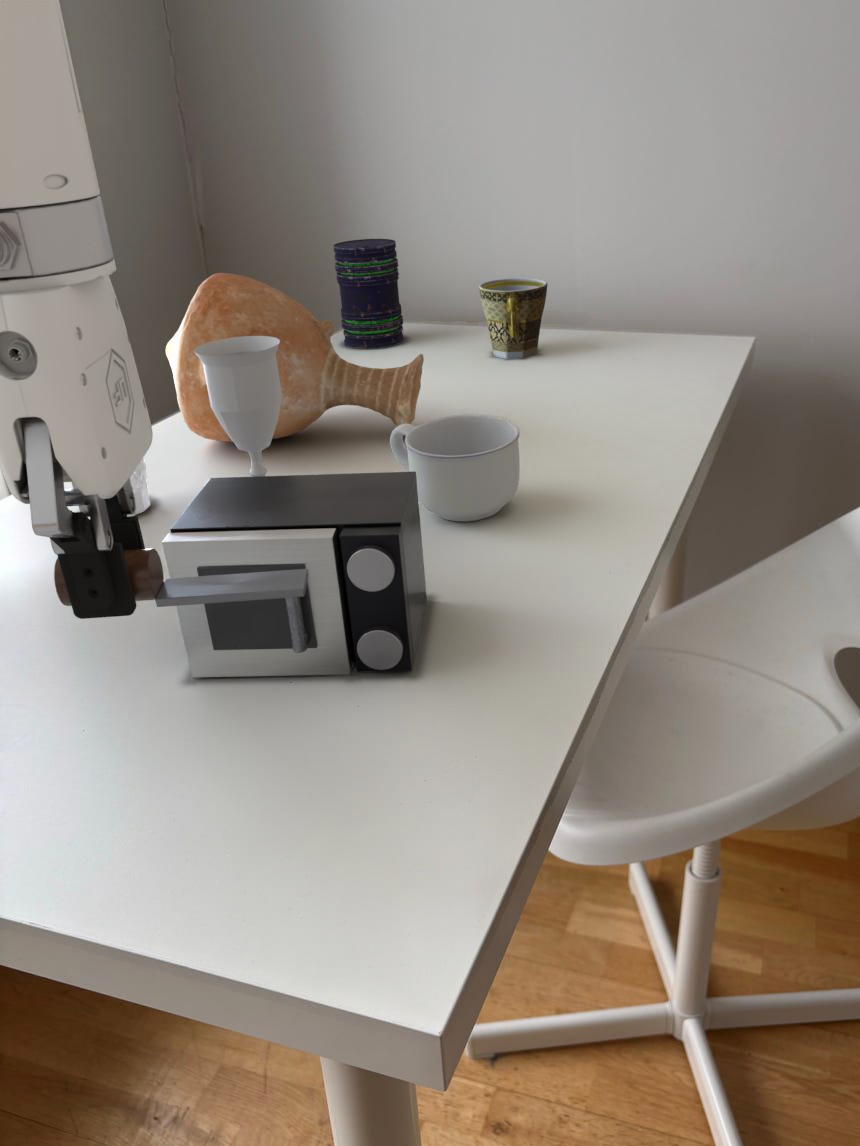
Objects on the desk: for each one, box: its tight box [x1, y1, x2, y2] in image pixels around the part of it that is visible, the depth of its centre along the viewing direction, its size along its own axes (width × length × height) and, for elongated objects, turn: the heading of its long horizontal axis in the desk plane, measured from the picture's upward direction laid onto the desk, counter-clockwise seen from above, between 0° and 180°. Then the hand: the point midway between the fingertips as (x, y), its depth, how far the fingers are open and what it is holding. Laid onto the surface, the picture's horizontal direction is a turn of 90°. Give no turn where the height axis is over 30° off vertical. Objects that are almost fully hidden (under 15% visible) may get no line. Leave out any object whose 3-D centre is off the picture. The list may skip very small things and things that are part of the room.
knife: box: [53, 547, 309, 608], centre depth 55 cm, size 13×3×3 cm, turn 94°
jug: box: [165, 272, 425, 443], centre depth 118 cm, size 20×19×30 cm
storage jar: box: [333, 238, 405, 350], centre depth 160 cm, size 10×10×15 cm
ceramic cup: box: [478, 277, 548, 360], centre depth 148 cm, size 13×10×10 cm
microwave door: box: [161, 528, 355, 678], centre depth 70 cm, size 3×12×11 cm, turn 87°
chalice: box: [194, 336, 282, 477], centre depth 90 cm, size 7×7×18 cm
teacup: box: [389, 413, 520, 522], centre depth 98 cm, size 14×11×8 cm
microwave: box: [169, 471, 428, 673], centre depth 75 cm, size 12×16×11 cm
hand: (114, 596), depth 56 cm, fingers closed on knife, 2 cm apart
